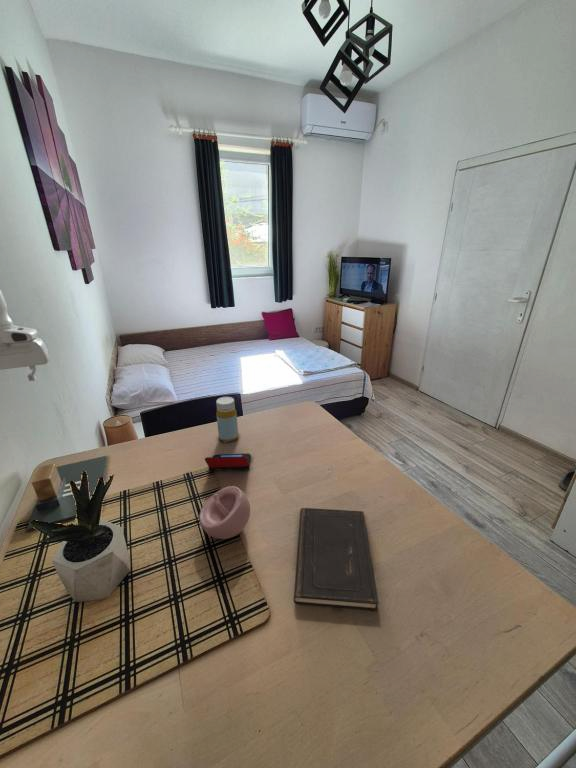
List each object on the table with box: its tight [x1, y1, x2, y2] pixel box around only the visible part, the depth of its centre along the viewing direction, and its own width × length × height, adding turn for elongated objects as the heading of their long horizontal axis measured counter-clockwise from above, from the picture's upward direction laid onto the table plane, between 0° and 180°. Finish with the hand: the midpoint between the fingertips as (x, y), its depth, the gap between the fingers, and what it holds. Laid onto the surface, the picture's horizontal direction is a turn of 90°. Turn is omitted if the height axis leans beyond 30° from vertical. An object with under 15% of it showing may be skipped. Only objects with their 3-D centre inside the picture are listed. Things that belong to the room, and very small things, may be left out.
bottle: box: [215, 396, 239, 443], centre depth 115 cm, size 7×7×15 cm
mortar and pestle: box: [198, 485, 251, 540], centre depth 78 cm, size 12×12×12 cm
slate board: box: [26, 455, 108, 532], centre depth 94 cm, size 16×26×1 cm, turn 24°
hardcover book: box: [293, 507, 380, 612], centre depth 72 cm, size 16×23×2 cm
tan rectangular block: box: [31, 463, 66, 511], centre depth 89 cm, size 5×10×8 cm, turn 24°
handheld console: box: [204, 453, 252, 472], centre depth 101 cm, size 12×11×7 cm
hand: (13, 383), depth 92 cm, fingers open, 8 cm apart
